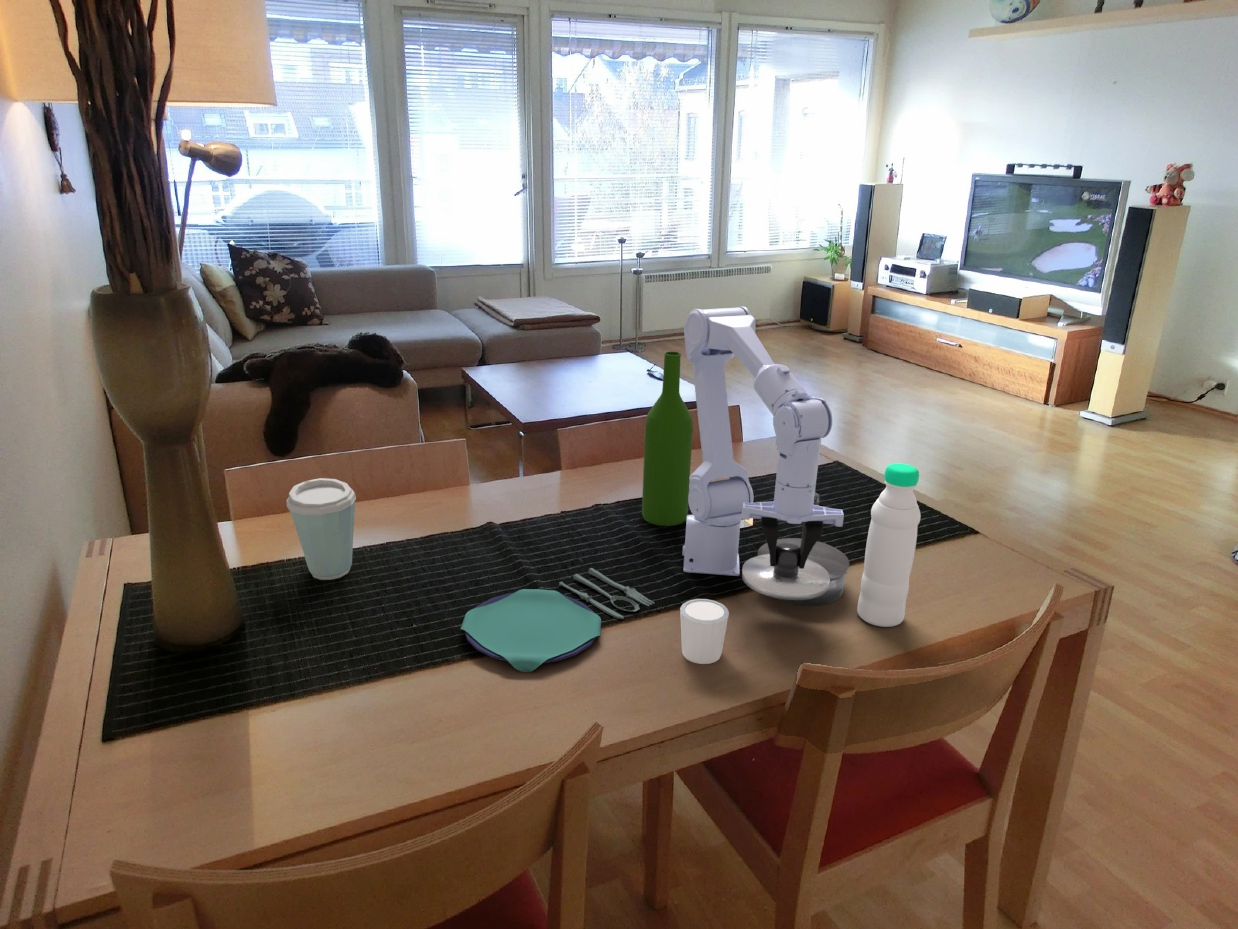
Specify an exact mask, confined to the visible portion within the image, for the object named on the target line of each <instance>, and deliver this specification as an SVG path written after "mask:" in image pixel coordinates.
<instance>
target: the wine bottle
mask: <svg viewBox="0 0 1238 929" xmlns="http://www.w3.org/2000/svg"><path fill="white" fill-rule="evenodd" d="M663 355H664V359H663V362H664V363H663V374H662V391H661V394H660V396H659V397H658V398H657V399H656V401H655V403H654V404H653V405H652V406H651V408H650V409H649V411H648V412H647V415H646V419H645V422H644V426H645V427H644V446H643V447H644V450H643V453H644V454H643V473H642V497H641V498H642V499H641V500H642V502H641V515H642V519H643V520H644V521H646V522H647V523H649V524H652V525H656V526H663V527H671V526H672V527H674V526H678V525H682V524H683V523H685V522H686V521H687V515H689V502H688V495H689V490H690V479H689V477H690V476H691V464H692V463H691V461H692V449H693V448H692V447H693V430H694V422H693V416H692V414H691V413H690V411H689V409H688V407H687V405H686V404H685V402H684V400H683V397H682V396H681V393H680V383H681V382H680V381H681V380H680V379H681V378H680V376H681V358H682V353H680V352H678V351H666V352H665V353H664V354H663Z"/></svg>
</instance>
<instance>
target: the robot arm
mask: <svg viewBox="0 0 1238 929" xmlns="http://www.w3.org/2000/svg"><path fill="white" fill-rule="evenodd" d="M683 334H684V345H685V346H684V347H685V352H686V361H688V362H690V363H691V364H692V374H693V381H694V382H693V383H694V384H693V385H694V391H695V400H696V411H697V420H698V430H699V437H700V438H699V439H700V446H701V458H702V463H701V464H700V465H699V466H698V467H697V468H696V469H695V471H693V472H692V473H690V477H689V479H690V483H689V495H688V508H689V510H690V512H691V514H688V515H687V519H686V520H685V523H686V525H685V539H684V540H685V541H684V545H682V556H684V557H683V568H682V569H683V572H685V573H694V574H707V575H719V576H731V577H732V576H733V577H739V576H740V574H741V573H740V572H741V571H740V556H739V555H740V554H739V546H740V545H739V544H740V541H739V540H740V531H741V530H740V529H741V520H742V521H743V520H744V521H745V520H747V521H749V520H750V519H756V520H758V519H759V520H760V527H761V530H762V533H763V536H764V538H765V541H766V543H767V544H768V548H769V552H770V566H775V564H776V545H777V539H778V536H779V521H782V522H783V521H785V522H786V523H787V524H793V525H801V524H802V529H801V539H802V540H801V546H800V549H801V552H800V561H799V568H800V569H804V566H805V563H806V560H807V558H808V555H809V553H810V551H811V550H812V548H813V546H814V545H815V543H816V542H817V541H818V542H819V539H820V538H821V537H822V536H823V532H824V527H823V526H824V524H827V525H834V527H839V528H840V527H843V525H844V518H845V516H844V515H845V514H844V512H843V509H839V508H832V507H826V506H820V505H817V504H814V502H815V494H816V486H817V476H818V470H819V462H820V452H821V444H822V439H823V438H826V437H828V435H829V434H830V433H831V430H832V427H833V414H832V410H831V408H830V406H829V404H828V403H827V401H826V400H825V399H824V398H822V397H815V396H814V395H813V394H808V393H807V391H806V390H805V388H804V387H803V386H802V384H800V382H799V381H798V379H796V377H795V376H794V375H793V373H792V372H791V370H790V368H789V367H788V366H787V365H784V364H783V363H781V364H780V363H775V362H774V361H773V359H772V358H771V356H770V354H769V353H768V352H767V349H766V348H765V347H764V345H763V344H762V341H761V340H760V339H759V337H758V335H757V334H756V318H755V317H754V316H753V315H752V314H751V311H750V310H749V309H748V308H747V307H746V306H742V305H740V306H737V307H724V308H723V307H722V308H721V307H720V308H708V309H700V308H693V309H692V310H691V311H690V312H689V314H688V315H687V318H686V321H685V323H684V325H683ZM735 357H736V358H737V359H738V360H739V361H740V363H741V364H742V365H743V366H744V367H745V368H746V369H747V370H748V371H749V373H750V374H751V375H752V377H754V378H755V379H754V382H753V388H754V391H755V393H756V394H757V395H758V397H759V398H760V400H761V401H762V402H763V404H764V405H765V406H766V408H767V409H768V411H769V412H770V413H771V414H772V424H773V430H774V434H775V438H776V439H775V446H776V451H778V456H777V464H776V465H777V467H776V478H775V486H774V495H773V496H774V497H773V501H760V502H759V501H758V502H754V491H753V488H752V485H751V483H750V480H749V475H748V470H747V469H746V468H745V467H744V466H742V465H740V464H739V463H737V462H736V461H735V459H734V452H733V450H734V449H733V441H732V432H731V420H730V411H729V404H728V394H727V384H726V375H725V374H726V373H725V367H726V365H727V363H728V362H729V360H731V359H732V358H735ZM726 478H727V479H726ZM720 479H721V480H720ZM714 480H715V481H714Z"/></svg>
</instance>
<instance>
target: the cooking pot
mask: <svg viewBox="0 0 1238 929" xmlns="http://www.w3.org/2000/svg"><path fill="white" fill-rule="evenodd" d="M801 540H802V538H798V537H795V538H794V537H788V538H787V537H786V538H785V537H784V538H779V539H778V538H777V545H778V544H782V543H790V544H794V545H797V546H798V547H800V546H801ZM777 545H776V546H777ZM766 554H770V552H769V548H768V544H767V542H766V543H764V544H763V545H761V546H760V547H759V548H758V551H757V556H760V555H766ZM807 559H808V560H811V561H813V562H815V563H817V564H819V565H821V566H822V567H823V568H825V569H826V570H827V572H828V573H829V575H830V582H829V588H828V590H827V591H826V592H825V593H824V594H823V595H821V596H819V597H816V598H812V599H806V600H786V599H779V598H774V597H772V598H773V599H775V600H778V601H781V602H784V603H787V604H790V605H796V606H805V607H806V606H809V607H814V606H815V607H817V606H825V605H828V604H831V603H834V602H836V601H838V600H839V599H840V598H841V597H842V595H843V593H844V587H845V580H846V574H847V573H848V572H849V568H850V560H849V558H848V557H847V555H846V554H845V553H844V552H842V551H841V550H840V549H838V548H836V547H835V546H833V545H831V544H830V545H829V544H827V543H825V542H822V541H819V540H818V541H817V542H816V543H815V545H814V546H813V548H812V550H811V551H810V553H809V555H808V558H807Z"/></svg>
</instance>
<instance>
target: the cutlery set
mask: <svg viewBox="0 0 1238 929" xmlns="http://www.w3.org/2000/svg"><path fill="white" fill-rule="evenodd" d="M588 574H589V575H591V576H593V577H596V578H597V579H599V580H600V581H602V582H604V583H605V584H608V585H610V586H611V587H614V588H616V589H619V590H621V591H623V593H624V594H625V596H622V595H621V596H620V595H610V594H609V593H608V592H606V591H605V590H603V589H602V588H600V587H599V586H598V585H597V584H595V583H593V582H591V581H590V580H588V579H586V578H585V577H583V576H581V575H580V574H578V573H575V574H573V575H572V576H573V577H572V578H573V579H574V580H576V581H577V582H580V583H582V584H584V585H586V586H588V587H590V588H592V589H593V590H595V591H597V592H598V593H600V594H601V595H604V596H605V597H607V598H608V599H610V603H611V604H612V605H613V606H614V607H615V608H616V609H618V610H622V611H624V612H637V611H638V610H640V606H639V604H638V603H640V604H642V605H644V606H647V607H650V606H653V605H654V604H655V603H656V602H654V601H652V600H651V599H649V598H648V597H646V596H645V595H643V594H641V592H639V591H637V589H636V588H634V587H633V588H630V586H629V585H628V586H624V585H622V584H619V583H618V582H615V581H614V580H612V579H610V578H609V577H607V576H606V575H604V574H603V573H601V572H600V571H598V570H596V569H594V568H593V567H590V568H588ZM558 587H564V588H565V589H568V590H570V591H572V592H574V593H575V594H577V595H578V596H579V598H581V599H582V600H585V601H586V603H590V604H591V605H593V606H594V607H595V608H597V609H599V610H600V611H603V612H604V613H606V614H607V615H610V616H612V617H613V618H615V619H620V620H624V619H625V616H624V615H621V614H620V613H618V612H616V611H615V610H613V609H611V608H609V607H607V606H606V605H604V604H602V603H600V602H598V601H597V600H594V598H593V595H588V593H587V592H580V591H579V590H577V589H574V588H573V587H571V586H570V585H567V584H565V583H564V582H563V581H559V582H558ZM617 600H618V601H625V602H628V603H630V604H631V605H633V607H634V609H632V610H630V609H625V608H622V607H620V606H617V605H616V604H615V603H614V602H615V601H617ZM635 601H636V602H635ZM637 602H638V603H637ZM601 627H602V619H601V617H600V616H599V615H598V614H597V613H595V612H594V611H593V609H591V608H590V607H588V606H587V605H586V604H584V602H582V601H580V600H577V599H575V598H573V597H570V596H568V595H563V593H561V592H559V591H557V590H552V589H550V590H548V589H539V588H537V589H534V588H533V589H531V588H530V589H528V588H522V589H519V590H517V591H515V592H510V593H505V594H501V595H499V596H495V597H492V598H490V599H488V600H486V601H483V602H482V603H480V604H478V605H477V606H475V607H474V608H472V609H470V610H468V611H467V612H466V613H465V615H464V617H463V621H462V624H461V627H460V631H464V634H465V637H466V641H467V642H468V643H470V645H472V647H474V649H475V650H476V651H478V652H480V653H482V654H484V655H485V656H489V657H490V658H492V659H496V660H500V661H504V662H508V663H509V664H510V665H511V666H512V667H513V668H514V669H515V670H517V671H519V672H521V673H522V672H523V673H531V672H533V671H534V670H536V669H537V668H538V667H540V666H541V665H542V664H546V663H551V662H552V663H553V662H558V661H562V660H565V659H568V658H570V657H574V656H576V655H579V653H581V652H583V651H584V650H586V649H587V648H588V647H591V645H592V644H593V642H594V641H595V640H596V638H601V631H602V629H601Z"/></svg>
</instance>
